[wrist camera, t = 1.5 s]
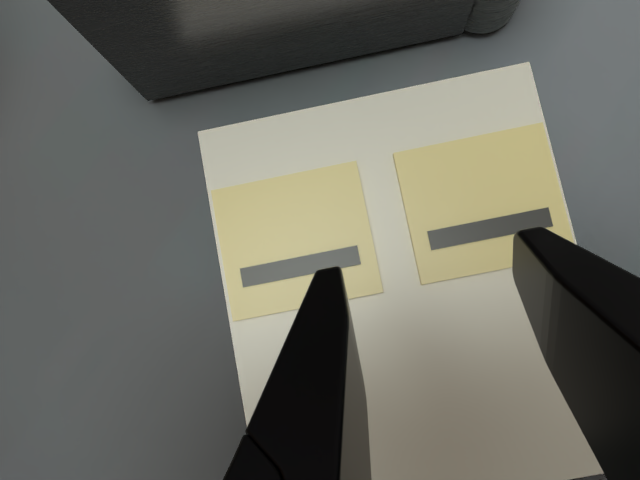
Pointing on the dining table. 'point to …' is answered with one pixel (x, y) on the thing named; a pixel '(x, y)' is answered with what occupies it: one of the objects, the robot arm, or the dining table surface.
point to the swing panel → (260, 34)
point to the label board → (406, 266)
